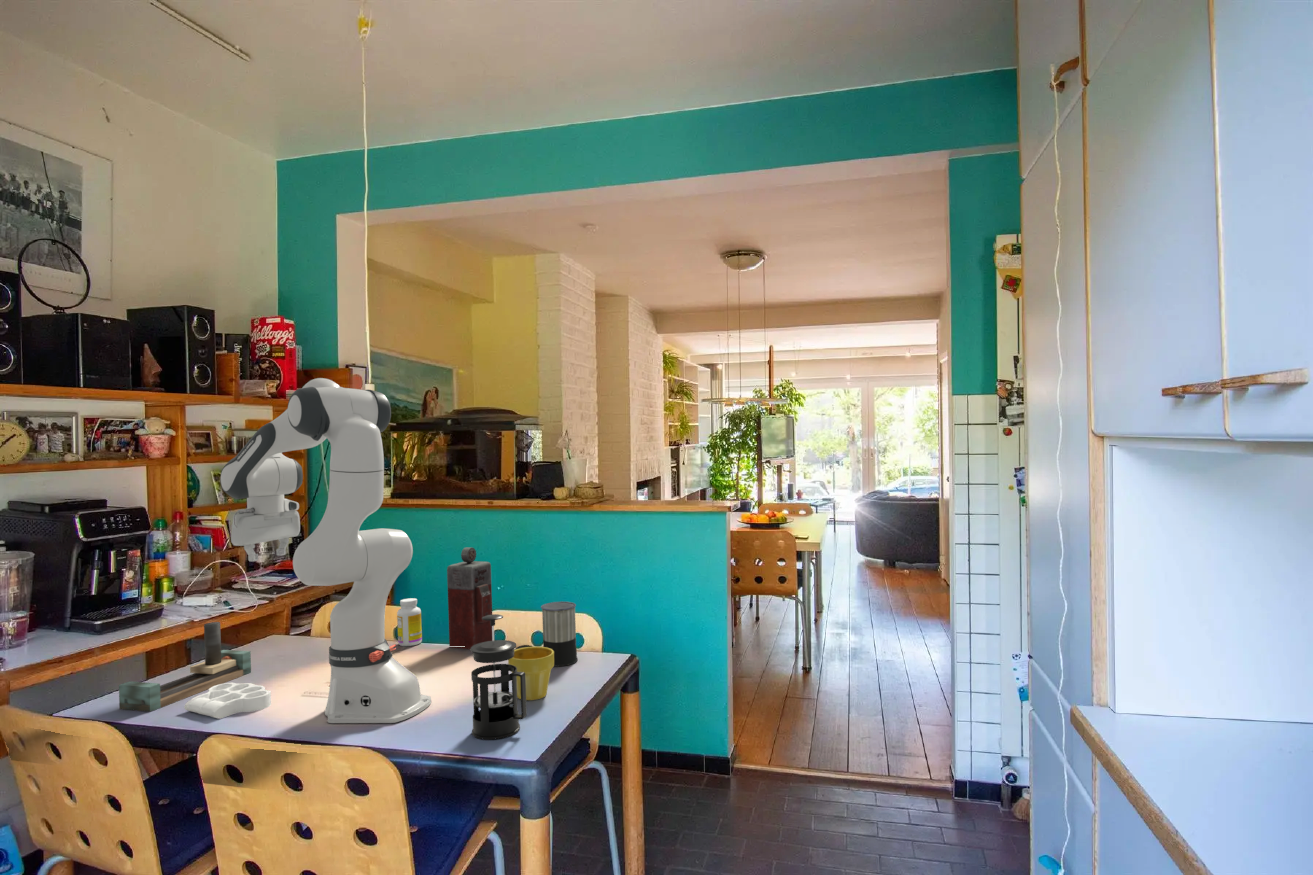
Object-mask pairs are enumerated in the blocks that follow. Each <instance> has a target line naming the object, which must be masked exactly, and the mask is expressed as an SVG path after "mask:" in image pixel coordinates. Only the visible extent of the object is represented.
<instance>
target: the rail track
mask: <svg viewBox="0 0 1313 875" xmlns="http://www.w3.org/2000/svg"><path fill="white" fill-rule="evenodd" d="M251 654H252V653H251V651H250V650H249V651H248V650H232V649H221V659H222V658H223V657H225V656H230V657H231V658H232V660H236V666H234V667H231V668H228V669H225V670H223V671H220V672H217V673H215V674H202V673H191V674H189V675H186V676H184V677H181V678H177V679H174V680H172V681H169V682H166V683H164V684H162V685H161V683H157V682H146V681H145V682H143V681H130V680H129V681H127V682H123V683H121V684H118V701H119V703H118V704H119V710H125V711H135V710H137V711H138V712H146V713H147V712H149V713H151V712H154V711H156V710H158V709H161V708H163V707H167V706H169V705H171V704H174V703H177V702H179V701H182V700H184V699H186V698H189V697H192V696H194V695H197V694H199V693H202V692H204V691H208V690H209V688H211V687H213V686H216V685H219V684H223V683H229V682H230V681H233V680H235V679H238V678H240V677H243V676H245V675H248V674H251V673H252V660H251ZM176 701H177V702H176ZM137 711H136V712H137Z"/></svg>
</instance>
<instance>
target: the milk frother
mask: <svg viewBox="0 0 1313 875" xmlns="http://www.w3.org/2000/svg"><path fill="white" fill-rule="evenodd" d="M576 606H577V604H576V603H575V602H572V601H562V600H561V601H552V602H548V603H544V604H542V605H541V606H540V609H541V610H542V611H541V613H542V614H541V616H542V617H541V618H542V637H543V638H542V642H543V645H542V647H547V648H550V649H552V650H553V651H554V666H553V667H566V666H570V665H573V664H575V663H576V662H578V660H579V659H578V656H577V655H578V652H577V637H576V635H577V632H576V630H577V629H576V627H577V626H576ZM525 647H534V646H532V645H529V644H523V645H519V646H516V648H514V650H516V649H519V648H525Z"/></svg>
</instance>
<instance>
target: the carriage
mask: <svg viewBox="0 0 1313 875" xmlns="http://www.w3.org/2000/svg"><path fill="white" fill-rule="evenodd" d="M203 635H204V637H203V638H204V641H203V642H204V661H203V662H200V663H197V664H195V665H191V666H190V667H189V672H190V673H191V674H194V673H202V674H215V673H217V672H220V671H223V670H225V669H228V668H231V667H234V666H236V660H232V659H221V650H222V640H221V639H222V637H221V635H222V634H221V621H213V622H207V623H204V624H203Z"/></svg>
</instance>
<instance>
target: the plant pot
mask: <svg viewBox="0 0 1313 875" xmlns="http://www.w3.org/2000/svg"><path fill="white" fill-rule="evenodd" d="M515 649H516V648H515ZM507 662H508V663H507V664H510V665H514V666H516V667H517V672H525V679H526V701H536V700H539V699H540V700H541V699H543V698H545V697H546V696H547V695H548V694H547V693H548V689H549V688H548V687H549V683H550V677H551V673H552V672H551V671H552V669H553V668H554V667H555V666H554V651H553V650H552V649H550V648H547V647H543V646H533V647H525V648H519V649H516V650H514V657H513V658H511V659H509V660H507ZM510 672H511V673H513V672H512V671H510ZM517 699H519V700H521V684H520V676H517Z"/></svg>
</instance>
